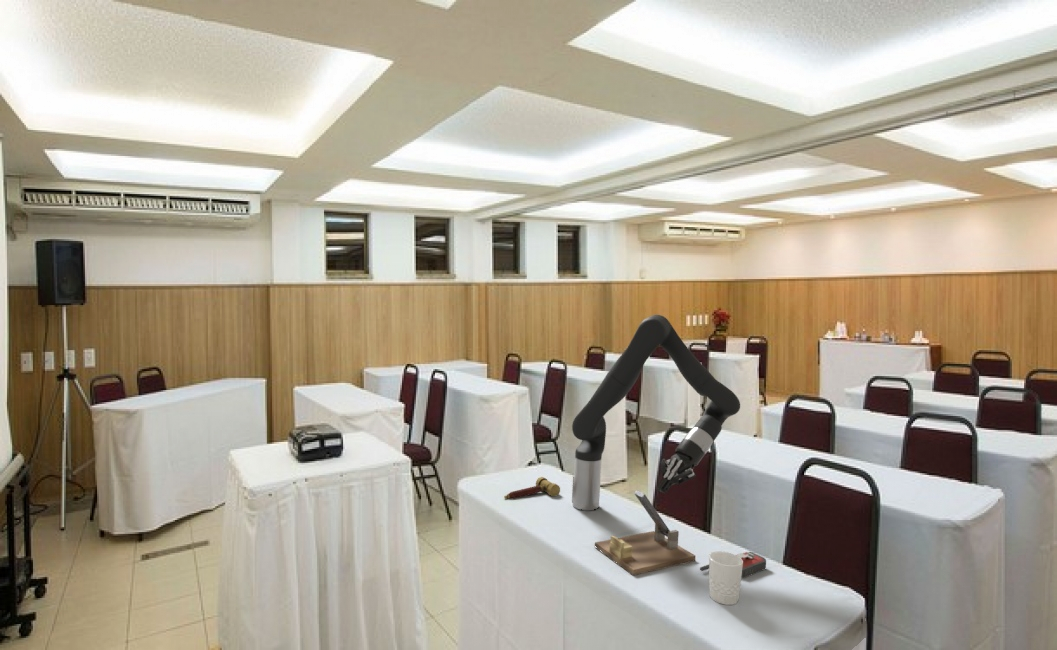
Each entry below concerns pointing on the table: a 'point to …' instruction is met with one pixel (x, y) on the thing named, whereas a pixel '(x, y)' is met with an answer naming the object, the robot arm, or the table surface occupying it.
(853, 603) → the table surface
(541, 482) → the gavel
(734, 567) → the white cup
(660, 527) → the strap
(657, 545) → the latch board
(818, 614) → the table surface
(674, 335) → the robot arm
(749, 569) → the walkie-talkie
